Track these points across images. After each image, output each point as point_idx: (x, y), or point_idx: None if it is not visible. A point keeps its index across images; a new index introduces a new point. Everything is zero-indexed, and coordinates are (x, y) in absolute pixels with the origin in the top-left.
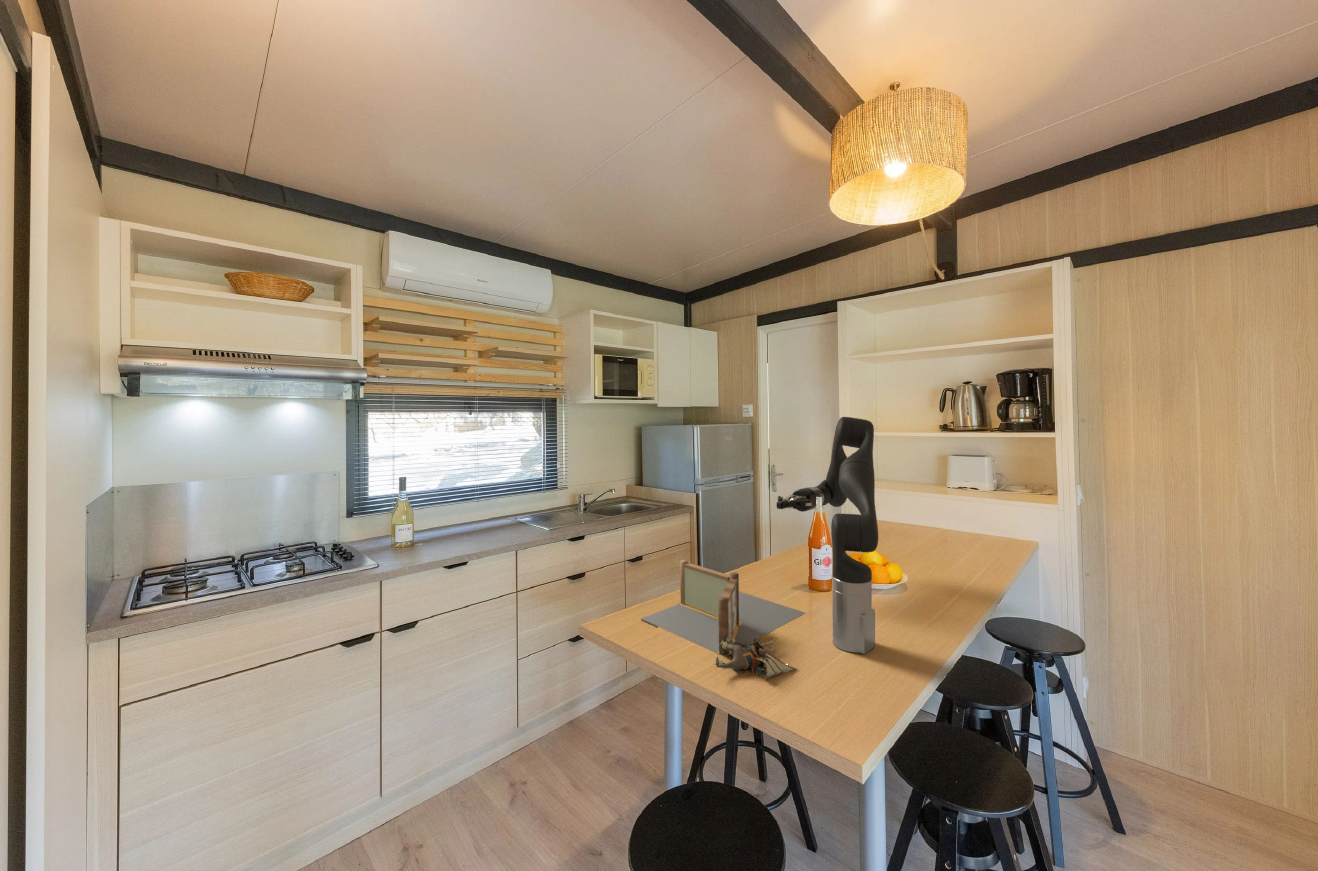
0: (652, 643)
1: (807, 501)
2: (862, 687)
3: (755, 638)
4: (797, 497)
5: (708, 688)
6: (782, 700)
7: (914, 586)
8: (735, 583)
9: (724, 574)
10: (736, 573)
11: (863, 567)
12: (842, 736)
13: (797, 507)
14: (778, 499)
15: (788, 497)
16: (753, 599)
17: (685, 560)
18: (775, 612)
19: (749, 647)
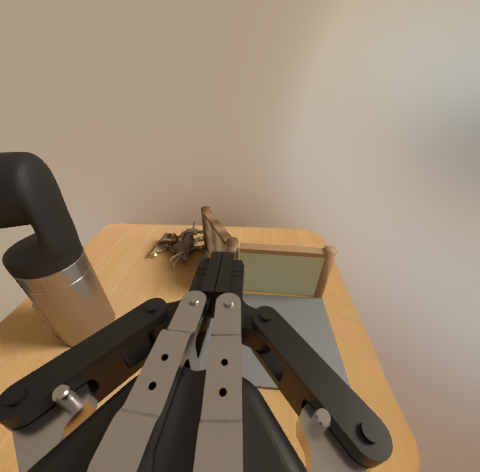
0: (263, 237)
1: (47, 368)
2: (93, 266)
3: (186, 253)
4: (140, 394)
5: (196, 226)
6: (151, 235)
7: None
8: (220, 235)
9: (251, 247)
10: (231, 242)
11: (21, 240)
12: (114, 230)
13: (143, 335)
14: (294, 337)
15: (218, 341)
16: (263, 370)
17: (332, 252)
18: (205, 344)
19: (182, 236)
